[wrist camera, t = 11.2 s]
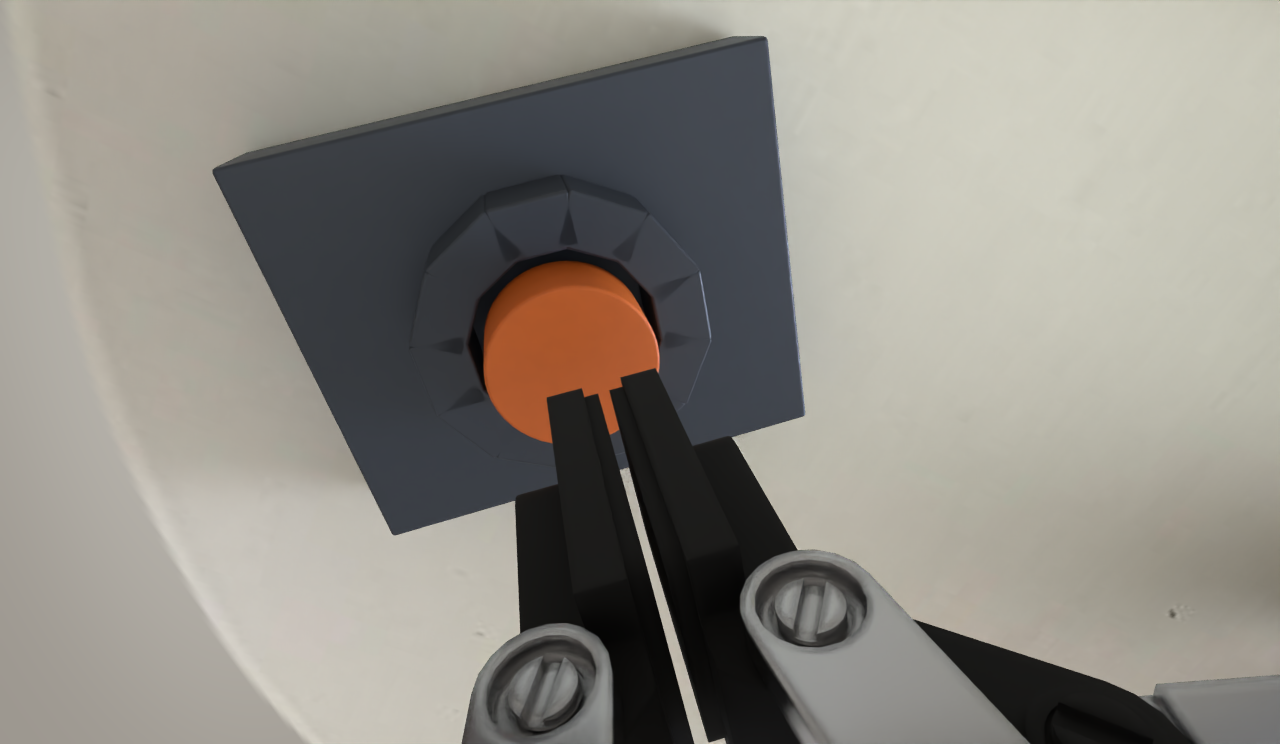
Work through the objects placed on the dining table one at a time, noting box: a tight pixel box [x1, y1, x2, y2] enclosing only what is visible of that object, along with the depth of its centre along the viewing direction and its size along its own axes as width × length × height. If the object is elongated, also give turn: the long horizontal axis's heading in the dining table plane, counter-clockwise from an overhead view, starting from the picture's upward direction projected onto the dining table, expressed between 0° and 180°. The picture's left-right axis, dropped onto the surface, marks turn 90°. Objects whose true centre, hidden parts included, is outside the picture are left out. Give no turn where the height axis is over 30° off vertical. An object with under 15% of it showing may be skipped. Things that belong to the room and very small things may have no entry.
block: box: [213, 36, 805, 535], centre depth 17 cm, size 12×10×4 cm
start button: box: [484, 261, 660, 443], centre depth 15 cm, size 4×4×2 cm
